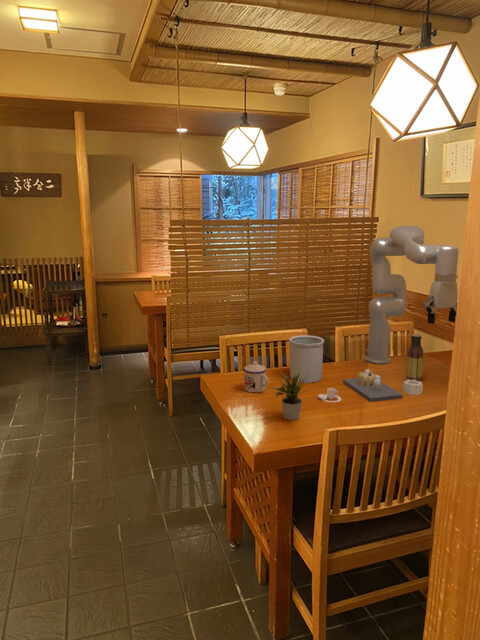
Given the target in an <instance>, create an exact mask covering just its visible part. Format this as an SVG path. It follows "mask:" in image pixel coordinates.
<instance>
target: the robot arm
mask: <svg viewBox="0 0 480 640" xmlns="http://www.w3.org/2000/svg"><path fill="white" fill-rule="evenodd" d="M424 240H425V233H424V230H423V228H422V227H420V226H419V225H418V226H417V225H399V226H396V227H394V228H392V229H391V230H390V232H389V237H379V238H375V239H374V240H373V241H372V242H371V244H370V246H369V256H370V262H371V286H372V291H373V293H374V294H376V295H392V296H378V297H374V298H372V299H371V300H369V302H368V313H369V331H368V332H369V335H368V348H367V349H366V350H365V352H366V353H367V355H365V356H364V360H365V361H366V362H368V363H372V364H378V365H382V364H383V365H385V364H390V363H391V361H392V359H391V357H389V347H390V334H391V325H390V322H389V321H388V319H387V318H388V317H389V318H390V317H400V316H402V315H404V314H405V312H406V307H407V282H406V280H405V277H404V276H403V275H401V274H397V273H394V274H392V271H391V263H390V261H389V259H388V258H387V257H403V256H405V258H406V259H408V260H409V261H411V262H412V263H414V264H418V265H435V268H434V269H435V270H434V278H433V279H434V281H432V282H431V285H430V289H429V294H428V298H427V299H426V300H425V301H423V302H422V304H423V307H424V310H425V311H426V312H427V323H428V324H431V325H432V324H433V325H434V324H435V322H436V321H435V320H436V313H435V312H436V311H437V309H449V312H448V322H451V323H456V322H455V316H456V317H457V312H456V306H457V298H459V297H458V295H459V294H458V293H459V292H458V282H457V279H458V275H457V272H458V260H459V248H458V247H457V245H456V246H455V245H444V244H424V243H425V241H424Z"/></svg>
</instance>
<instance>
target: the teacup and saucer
mask: <svg viewBox="0 0 480 640" xmlns="http://www.w3.org/2000/svg"><path fill="white" fill-rule="evenodd" d="M326 392H327V393H326V394H321V393H320V394H318V395H317V398H318V399H320V400H322V401H324V402H327V403H338V402H341V401H342V397H341V396H339V395H338V394H339V392H338V389H337V390H336V388H334V387H329V388H327V389H326ZM335 398H337V400H334V399H335ZM332 400H333V401H332Z"/></svg>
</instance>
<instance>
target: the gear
mask: <svg viewBox="0 0 480 640" xmlns="http://www.w3.org/2000/svg"><path fill="white" fill-rule="evenodd" d="M402 383H403V385H402V391H403V393H404V394H408V395H410V396H415V395H416V396H419V395H422V394H423V387H424V383H423V382H422V380H421V381H416V380H409V379H406V380H403V382H402Z"/></svg>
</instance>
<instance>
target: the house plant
mask: <svg viewBox="0 0 480 640" xmlns="http://www.w3.org/2000/svg"><path fill="white" fill-rule="evenodd" d="M300 372H301V371H300ZM300 372H298V374H297V376H296V377H295V375H294V377H293V379H291V381H290V378H289V377H288V376H287V375H285V374H284V373H283V372H282V371H279V373H280V374H281V375H282V377H283V378H284V380H285V383H286V384H285V383H284V382H283V381H282V380H281V379H280V378H279V379H278V378H275V377H274V378H273V380H275V381H276V382H279V383H280V384H279V385H281V387H272V390H275V391H277V392H275V395H276V396H275V398H277V397H279V396H283V398H281V405H282V412H283V413H282V414H283V418H284V419H285V420H287V419H288V421H296V419H297V420H299V418H300V412H301V409H302V404H303V399H301V398H300V397H299V396H300V395H301V394H303V393H305V392H307V390H304V391H301V389H302V388H303V387H304V386H305V385H306V384H307V383H304V384H303V381H304V379H303V380H302V382H301V379H302V377H301V378H300V380H299V382H297V381H298V378H299V376H300ZM302 376H303V375H302ZM300 391H301V393H300ZM308 392H310V393H311V391H310V390H308Z"/></svg>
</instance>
